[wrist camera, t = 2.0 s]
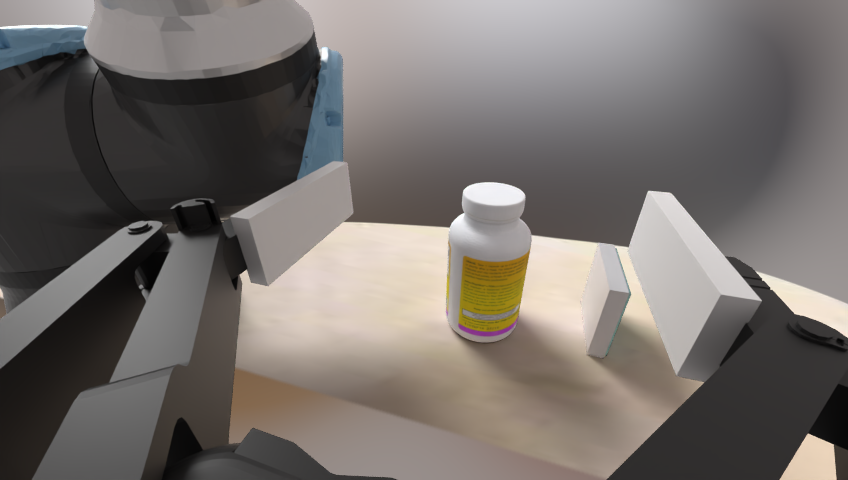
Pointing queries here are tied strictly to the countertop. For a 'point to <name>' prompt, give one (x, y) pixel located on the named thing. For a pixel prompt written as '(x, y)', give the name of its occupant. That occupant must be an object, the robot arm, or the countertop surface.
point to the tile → (603, 300)
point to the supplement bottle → (487, 262)
